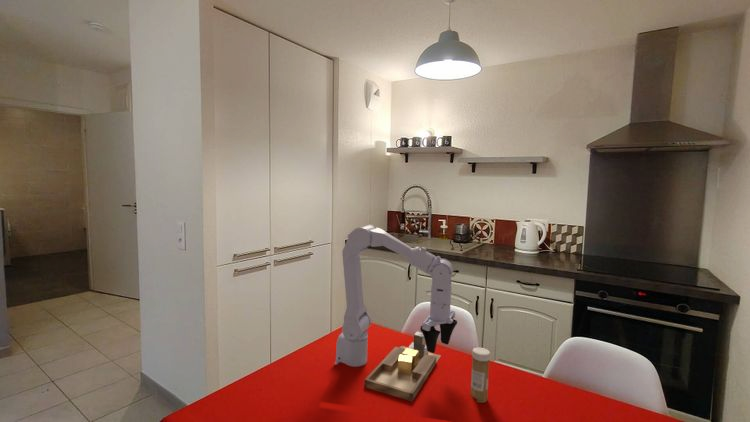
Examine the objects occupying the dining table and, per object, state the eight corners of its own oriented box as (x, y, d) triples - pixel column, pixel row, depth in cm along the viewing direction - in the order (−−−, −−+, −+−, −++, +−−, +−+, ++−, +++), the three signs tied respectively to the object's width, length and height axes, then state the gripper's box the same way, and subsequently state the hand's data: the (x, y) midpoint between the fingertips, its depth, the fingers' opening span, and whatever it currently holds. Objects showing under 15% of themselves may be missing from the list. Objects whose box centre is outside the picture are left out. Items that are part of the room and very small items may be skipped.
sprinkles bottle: (490, 400, 96) (493, 352, 95) (479, 405, 93) (482, 356, 92) (477, 391, 100) (480, 345, 99) (466, 396, 97) (468, 349, 96)
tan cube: (401, 365, 111) (402, 353, 110) (406, 359, 114) (406, 347, 114) (414, 368, 109) (414, 356, 109) (418, 363, 112) (418, 350, 112)
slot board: (364, 389, 99) (364, 379, 98) (401, 348, 124) (401, 340, 124) (412, 404, 93) (412, 393, 92) (440, 358, 118) (441, 349, 118)
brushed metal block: (407, 355, 117) (408, 336, 117) (412, 349, 122) (413, 330, 121) (423, 359, 115) (424, 339, 114) (428, 352, 120) (429, 334, 119)
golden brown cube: (397, 373, 106) (398, 360, 106) (399, 366, 110) (399, 354, 109) (411, 375, 105) (411, 362, 105) (412, 368, 109) (412, 355, 109)
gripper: (439, 311, 95) (436, 360, 96) (465, 299, 105) (462, 344, 107) (417, 305, 99) (414, 351, 101) (444, 294, 110) (442, 336, 111)
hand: (438, 347), depth 104 cm, fingers open, 7 cm apart
